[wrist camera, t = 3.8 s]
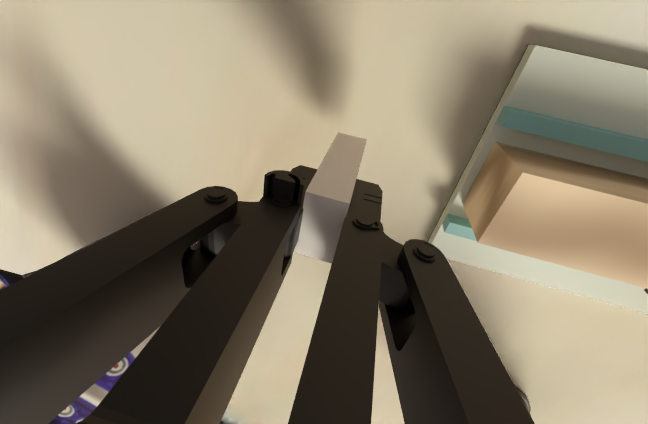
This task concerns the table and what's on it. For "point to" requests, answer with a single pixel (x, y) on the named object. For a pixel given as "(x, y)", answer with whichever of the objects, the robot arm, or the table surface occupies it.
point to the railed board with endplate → (561, 141)
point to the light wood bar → (562, 213)
